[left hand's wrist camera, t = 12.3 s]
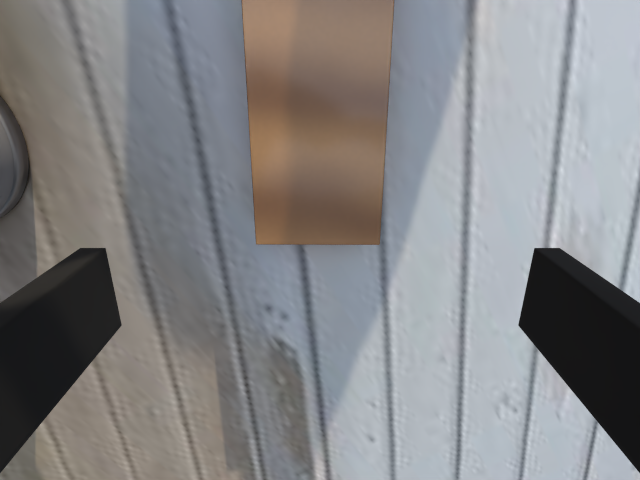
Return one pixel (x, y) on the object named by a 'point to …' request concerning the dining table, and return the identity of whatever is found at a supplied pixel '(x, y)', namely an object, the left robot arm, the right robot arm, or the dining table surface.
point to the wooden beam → (317, 117)
